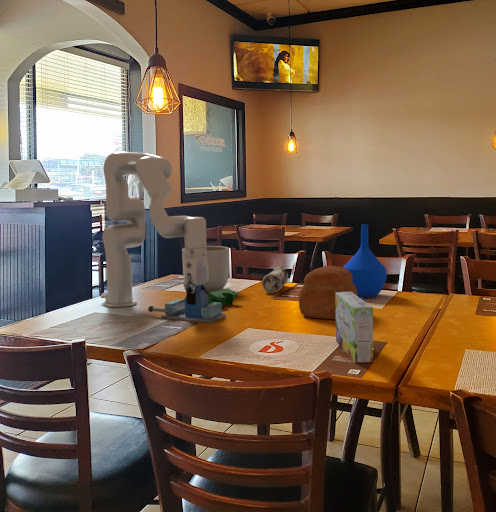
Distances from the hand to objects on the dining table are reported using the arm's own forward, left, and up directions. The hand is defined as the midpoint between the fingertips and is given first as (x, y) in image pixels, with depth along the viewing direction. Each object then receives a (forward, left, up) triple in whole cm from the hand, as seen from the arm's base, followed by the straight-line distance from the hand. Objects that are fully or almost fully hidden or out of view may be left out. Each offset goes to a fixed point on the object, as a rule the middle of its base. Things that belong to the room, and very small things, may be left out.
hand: (196, 301), depth 198 cm
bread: (+42, +23, -6) cm, 48 cm away
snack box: (+61, -21, -6) cm, 64 cm away
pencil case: (+7, +60, -6) cm, 61 cm away
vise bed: (-1, 0, -6) cm, 6 cm away
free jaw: (-12, 0, -4) cm, 13 cm away
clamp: (0, +21, -6) cm, 22 cm away
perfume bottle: (0, 0, -5) cm, 5 cm away
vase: (+47, +60, -6) cm, 76 cm away
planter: (-21, +48, -6) cm, 53 cm away
